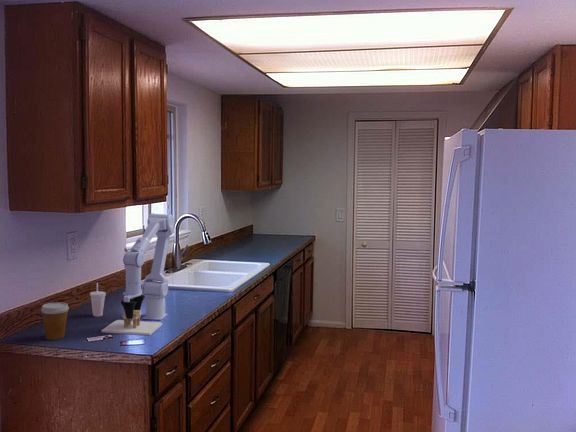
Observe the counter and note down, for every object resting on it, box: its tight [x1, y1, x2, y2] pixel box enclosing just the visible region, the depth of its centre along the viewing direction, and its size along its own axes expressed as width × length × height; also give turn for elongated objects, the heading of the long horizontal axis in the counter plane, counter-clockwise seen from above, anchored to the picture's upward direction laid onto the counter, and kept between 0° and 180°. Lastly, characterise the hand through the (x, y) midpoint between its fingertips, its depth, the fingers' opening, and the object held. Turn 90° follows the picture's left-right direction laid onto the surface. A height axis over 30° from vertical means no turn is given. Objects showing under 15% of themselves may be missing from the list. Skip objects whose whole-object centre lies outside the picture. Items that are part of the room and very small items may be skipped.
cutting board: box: [101, 319, 163, 336], centre depth 219 cm, size 15×19×1 cm
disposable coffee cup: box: [40, 302, 70, 341], centre depth 204 cm, size 10×10×12 cm
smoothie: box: [89, 282, 107, 318], centre depth 236 cm, size 6×6×14 cm
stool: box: [122, 309, 142, 328], centre depth 219 cm, size 5×5×6 cm
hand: (133, 316), depth 219 cm, fingers open, 7 cm apart
